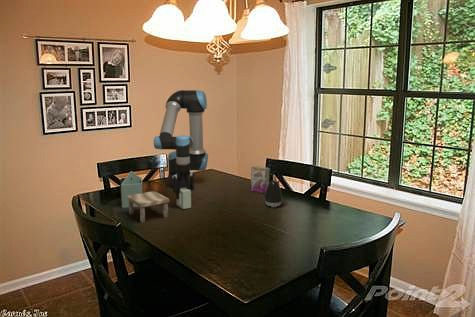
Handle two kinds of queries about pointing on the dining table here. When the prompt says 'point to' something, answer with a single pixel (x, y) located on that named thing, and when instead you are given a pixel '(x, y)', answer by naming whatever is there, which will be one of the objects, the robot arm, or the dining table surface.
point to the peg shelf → (147, 203)
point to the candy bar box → (259, 178)
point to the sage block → (185, 198)
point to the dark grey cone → (273, 194)
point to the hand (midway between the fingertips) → (183, 203)
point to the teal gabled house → (130, 188)
